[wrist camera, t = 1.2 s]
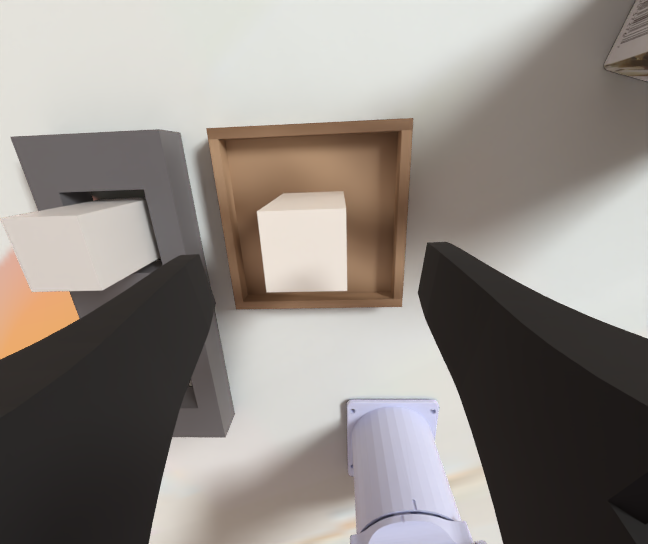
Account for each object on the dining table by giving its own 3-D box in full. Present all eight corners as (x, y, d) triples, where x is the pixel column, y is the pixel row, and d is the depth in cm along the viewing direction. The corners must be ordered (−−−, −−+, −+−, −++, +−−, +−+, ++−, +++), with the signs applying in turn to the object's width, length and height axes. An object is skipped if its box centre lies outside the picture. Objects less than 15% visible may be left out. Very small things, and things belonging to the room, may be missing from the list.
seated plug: (170, 251, 22) (102, 290, 16) (119, 252, 23) (31, 291, 16) (157, 196, 21) (77, 215, 14) (103, 198, 21) (-1, 218, 15)
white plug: (344, 249, 21) (347, 290, 15) (288, 250, 21) (266, 292, 15) (343, 191, 20) (346, 208, 13) (283, 193, 20) (256, 211, 13)
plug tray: (397, 295, 23) (402, 306, 21) (243, 298, 24) (236, 309, 22) (406, 121, 19) (413, 118, 17) (217, 130, 19) (206, 128, 18)
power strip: (234, 414, 28) (222, 445, 25) (142, 413, 29) (118, 444, 25) (180, 132, 19) (150, 128, 16) (48, 139, 20) (-5, 135, 17)
